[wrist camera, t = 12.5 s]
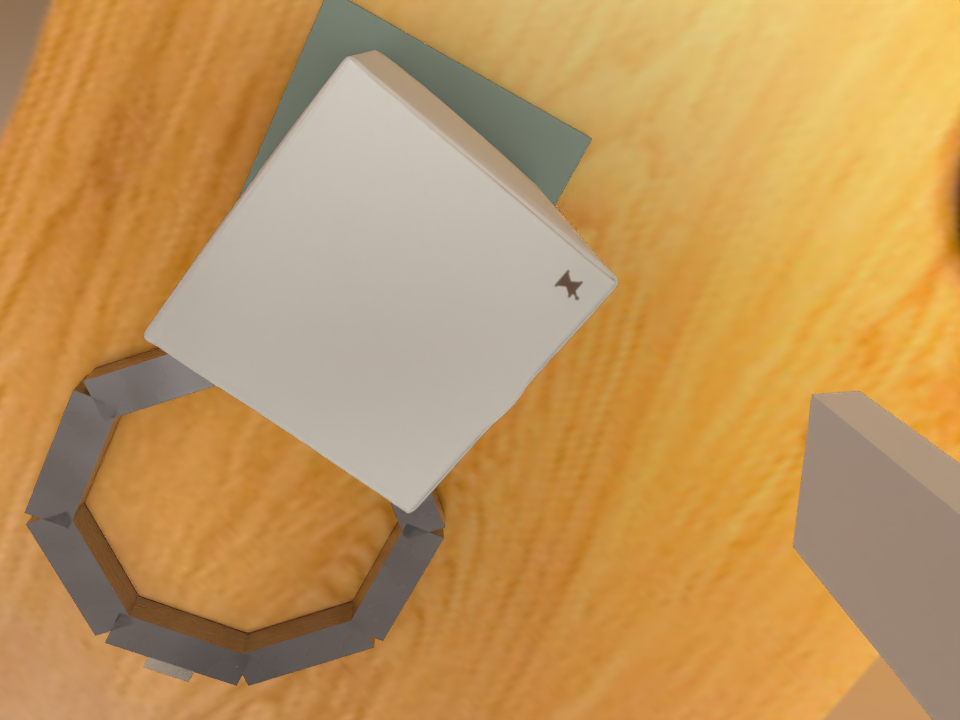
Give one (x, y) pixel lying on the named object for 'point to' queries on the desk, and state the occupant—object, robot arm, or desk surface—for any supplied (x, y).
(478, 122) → the felt pad
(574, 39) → the desk surface
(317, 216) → the supplement box
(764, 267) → the desk surface
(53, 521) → the socket collar
